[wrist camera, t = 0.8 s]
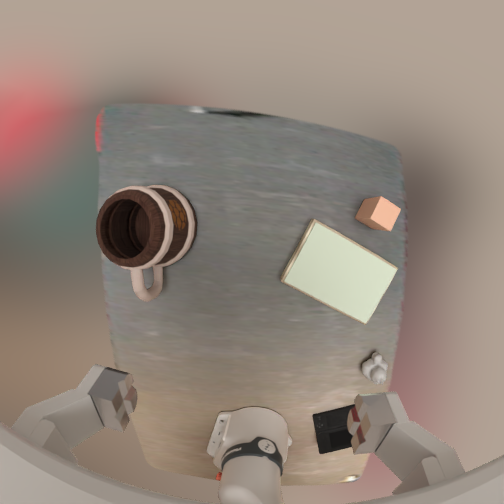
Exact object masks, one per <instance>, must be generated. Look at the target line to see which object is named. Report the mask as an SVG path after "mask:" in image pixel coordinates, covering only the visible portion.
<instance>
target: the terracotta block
mask: <svg viewBox="0 0 504 504" xmlns="http://www.w3.org/2000/svg"><path fill="white" fill-rule="evenodd" d="M400 210H401V209H400V208H398V207H397V206H395V205H394V204H392V203H391V202H389V201H388V200H386V199H385V198H383V197H382V196H380V197H374V198H369V199H364V200H363V202H362V205H361V207H360V209H359V211H358V213H357V215H356V217H355V219H357V220H358V221H360V222H362V223H363V224H365V225H367V226H368V227H370V228H372V229H377V230H385V231H391V229H392V227H393V225H394V223H395V221H396V219H397V217H398V214H399V212H400Z"/></svg>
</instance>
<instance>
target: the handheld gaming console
mask: <svg viewBox="0 0 504 504" xmlns="http://www.w3.org/2000/svg"><path fill="white" fill-rule="evenodd" d="M354 406H355V404H353V405H350V406H346V407H342V408H338V409H334V410H330V411H326V412H321V413H318V414H313V419H314V425H315V430H316V437H317V442H318V448H319V453H320V454H324V453H328V452H333V451H337V450H341V449H345V448H349V447H352V444H351V440H352V438H353V435H352V434H351V433H349V431H348V426H347V420H348V414H349V412H350V409H352V408H353V407H354ZM319 433H320V434H319Z"/></svg>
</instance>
